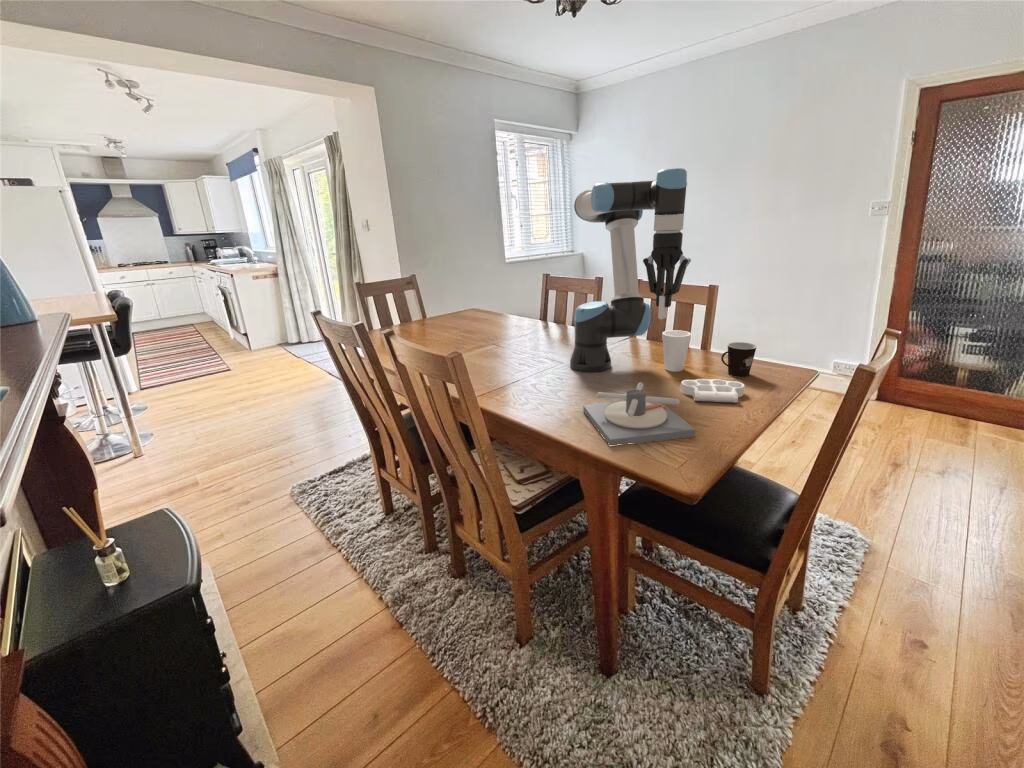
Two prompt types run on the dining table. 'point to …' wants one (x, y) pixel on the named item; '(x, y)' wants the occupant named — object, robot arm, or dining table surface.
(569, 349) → the dining table surface
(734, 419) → the dining table surface
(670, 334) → the foam cup
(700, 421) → the dining table surface
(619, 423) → the capstan
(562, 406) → the dining table surface
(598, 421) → the dial board
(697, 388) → the white brass knuckles
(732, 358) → the coffee mug
